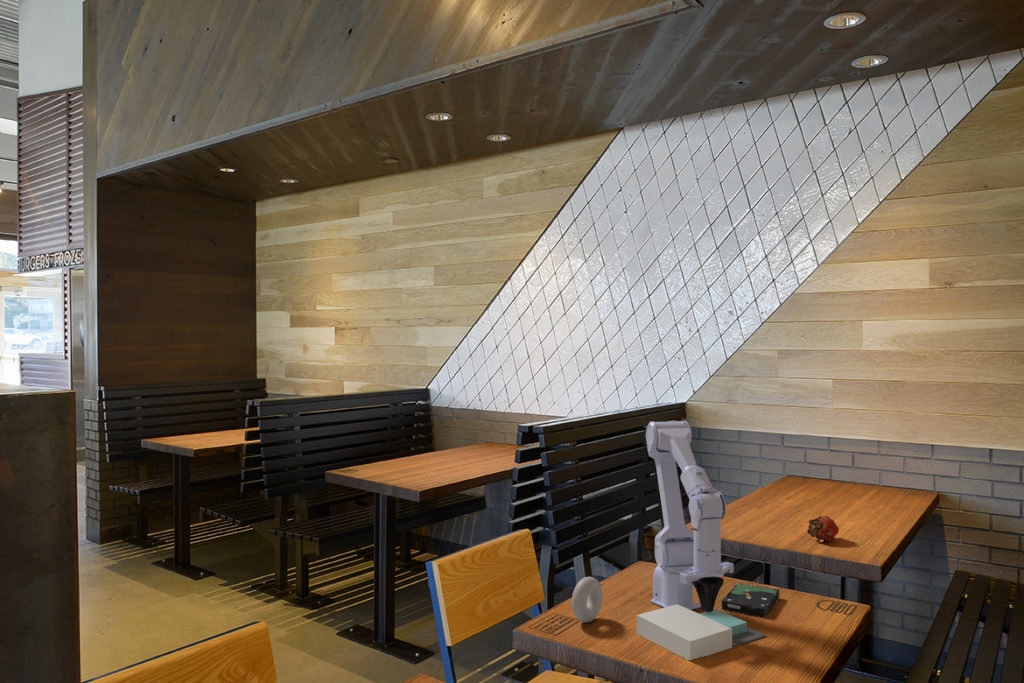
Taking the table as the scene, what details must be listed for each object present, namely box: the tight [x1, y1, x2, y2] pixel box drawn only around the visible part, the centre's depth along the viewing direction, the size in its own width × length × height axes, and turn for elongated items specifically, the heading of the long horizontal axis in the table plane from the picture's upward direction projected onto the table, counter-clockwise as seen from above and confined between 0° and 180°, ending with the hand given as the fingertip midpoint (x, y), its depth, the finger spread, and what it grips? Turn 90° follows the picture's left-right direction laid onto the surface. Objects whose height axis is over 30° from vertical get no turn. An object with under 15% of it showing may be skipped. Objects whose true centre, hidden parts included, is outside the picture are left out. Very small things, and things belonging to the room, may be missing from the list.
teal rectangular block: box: [699, 608, 748, 636], centre depth 162 cm, size 9×6×2 cm, turn 31°
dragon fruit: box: [806, 515, 839, 542], centre depth 230 cm, size 8×8×12 cm
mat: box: [732, 626, 767, 648], centre depth 162 cm, size 16×10×1 cm, turn 31°
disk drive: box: [721, 582, 780, 618], centre depth 177 cm, size 10×3×15 cm
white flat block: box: [636, 604, 733, 662], centre depth 156 cm, size 16×12×4 cm
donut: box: [571, 576, 604, 623], centre depth 167 cm, size 10×4×10 cm, turn 141°
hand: (707, 610), depth 160 cm, fingers closed
